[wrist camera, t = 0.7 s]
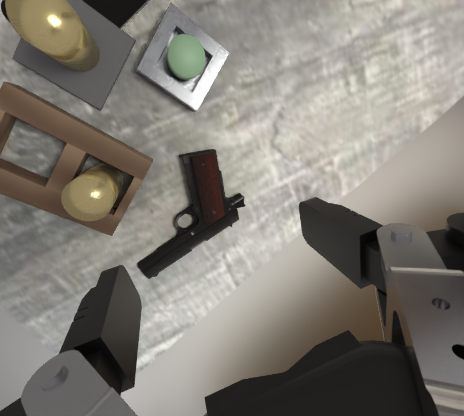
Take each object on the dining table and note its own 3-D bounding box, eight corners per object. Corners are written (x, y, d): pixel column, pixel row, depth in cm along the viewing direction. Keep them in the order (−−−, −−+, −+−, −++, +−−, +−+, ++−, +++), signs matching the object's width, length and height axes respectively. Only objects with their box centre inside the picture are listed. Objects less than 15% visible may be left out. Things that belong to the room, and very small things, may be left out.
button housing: (169, 11, 25) (170, 2, 23) (224, 57, 28) (229, 53, 26) (138, 72, 26) (136, 69, 24) (194, 111, 29) (196, 110, 27)
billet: (63, 13, 22) (19, -38, 15) (106, 44, 24) (85, 10, 17) (45, 53, 23) (-5, 21, 16) (89, 80, 25) (61, 63, 17)
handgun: (86, 217, 28) (150, 283, 33) (208, 137, 29) (255, 214, 33) (92, 211, 30) (152, 274, 35) (206, 136, 31) (250, 208, 35)
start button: (177, 31, 24) (179, 24, 22) (208, 56, 26) (212, 51, 24) (160, 65, 25) (161, 60, 23) (191, 87, 26) (193, 84, 24)
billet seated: (94, 157, 27) (73, 169, 20) (129, 174, 29) (120, 191, 22) (79, 187, 28) (53, 209, 21) (113, 202, 30) (100, 228, 22)
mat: (50, -23, 22) (48, -25, 21) (135, 41, 25) (135, 40, 25) (14, 59, 23) (12, 58, 22) (101, 110, 26) (100, 109, 26)
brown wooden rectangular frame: (18, 85, 23) (3, 81, 21) (152, 159, 29) (152, 162, 27) (-21, 173, 25) (-39, 178, 23) (115, 227, 31) (111, 236, 28)
